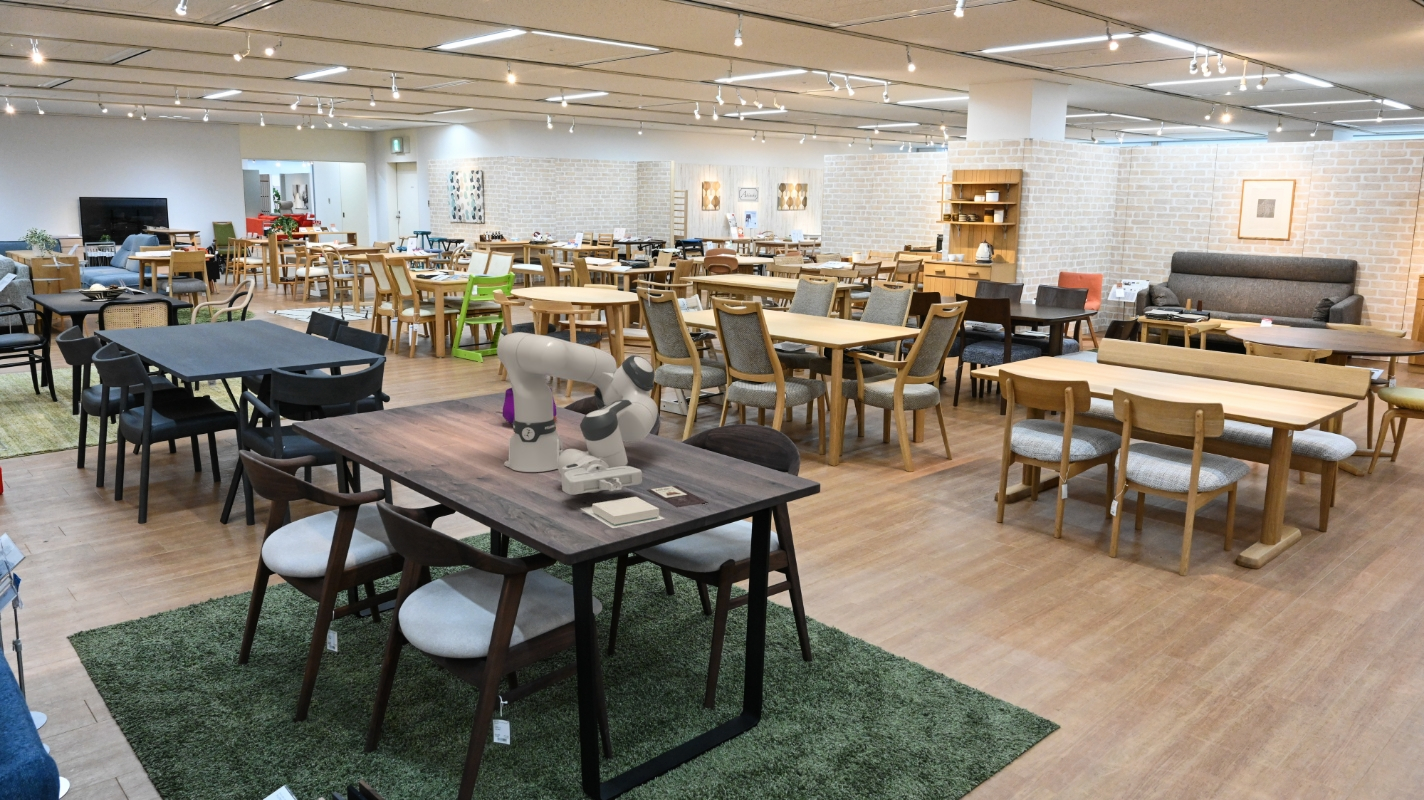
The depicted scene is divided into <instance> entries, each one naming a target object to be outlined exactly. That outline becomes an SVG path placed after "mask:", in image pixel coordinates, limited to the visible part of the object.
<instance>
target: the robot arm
mask: <svg viewBox="0 0 1424 800" xmlns="http://www.w3.org/2000/svg"><path fill="white" fill-rule="evenodd" d="M496 354H497V357H498V360H499V361H500V362H501V363H502V365H503V366H504V368H505V370H506V372H507V376H508V379H509V382H510V386H511V388H512V390H513V395H514V410H515V419H514V421H513V423H512V427H513V432H514V433H513V435H512V436H510V437H509V440H508V441H509V442H508V460H506V461H504V465H503V466H505V467H507V468H510V469H511V470H513V471H517V472H524V473H537V472H538V473H541V472H549V471H553V470H558V472H559V474H560V475H561V477H560V478H561V479H560V480H561V481H560V482H561V489H562V492H564V493H566V494H568V495H574V496H575V495H579V494H580V495H581V494H587V493H594V494H595V493H598V492H601V491H609V492H612V491H613V492H614V491H619V490H623V488H624V487H630V486H636V485H640V484H641V483H642V481H643V472H642V470H641V469H640V468H636V467H634V466H630V465H628V463H629V460H628V456H627V451H626V449H625V445H624V442H625V443H637V442H640V441H643V439H645V438H646V437H647V436H648V435H649V434H650V432H651V430H652V429H653V428H654V425H655V424H656V421H657V418H658V412H659V408H658V406H657V403H656V401H655V400H654V399H653V398H651V396H650V394H649V393H650V391H651V390H654V388H655V384H654V380H655V376H656V373H655V369H654V367H653V365H652V363H650V361H648V360H647V359H646V358H644V357H643V356H641V355H636V354H635V355H630V356H629V357H627V358H626V359H624V360H623V362H622V363H621V365H620V366H619V367H617V366H618V365H617V361H616V358H615V357H614V356H613V355H612V354H610V353H609V352H606V351H605V350H602V349H600V348H597V347H594V346H591V345H586V344H583V343H582V344H581V343H576V342H572V341H568V340H566V339H565V340H564V339H560V338H556V337H553V336H549V335H542V334H536V333H530V332H521V331H520V332H519V331H518V332H512V333H508V334H505V335H503V336H502V337H501V339H500V340H499V341H498V343H497V347H496ZM544 376H548V377H553V378H559V379H564V380H568V381H569V380H570V381H576V382H581V383H588V384H592V385H594V386H596V388H595V389H594V391H593V392H594V393H593V395H594V396H595V402H596V406H597V410H594V411H591V412H589V413H587V414H585V415H584V417H583V418H582V420H581V422H580V424H579V426H580V427H579V428H580V430H581V434H582V436H583V437H584V442H585V444H586V448H587V450H586V451H583V450H580V449H577V448H567V449H564V446H563V445H564V444H563V443H564V442H563V438H562V437H561V435H559V433H558V432H557V431H556V430H557V421H558V420H557V415H556V416H554V417H553V398H554V394H552V393H553V390H552V391H551V389H552V388H551V387H549V385H548V384H547V382H546V379H545V377H544ZM550 388H551V389H550ZM623 441H624V442H623Z"/></svg>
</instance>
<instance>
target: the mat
mask: <svg viewBox="0 0 1424 800" xmlns="http://www.w3.org/2000/svg"><path fill="white" fill-rule="evenodd" d="M579 510H581V511H583V512H585V513H586V514H587V515H589V516H591V517H593V518H595V519H596V520H598V521H599V522H601V523H603V524H605V525H606V526H608V527H609V528H612V529H616V528H623V527H628V526H634V525H638V524H639V525H640V524H644V523H649V522H650V523H651V522H656V521H661V520H665V519H666V518H665V517H663V516H661V515H659V517H657V518H654V519H649V520H643V521H637V522H632V523H626V524H621V525H613V524H612V523H610V522H608V521H607V520H605V519H603V518H602V517H600V516H598V515H597V514H595V513H594V512H593V511H592V506H585V507H579Z"/></svg>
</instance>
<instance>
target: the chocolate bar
mask: <svg viewBox="0 0 1424 800" xmlns="http://www.w3.org/2000/svg"><path fill="white" fill-rule="evenodd" d="M646 491H647V492H649V493H650V494H653V495H654V496H656V497H657V498H659V499H661V500H663V501H665V502H667V503H668V504H670V505H672V506H674V507H675V508H682V507H688V506H694V505H695V506H696V505H703V504H705V503H708V504H709V501H707V500H704V499H703V498H701V497H698V496H697V495H695V494H693V493H692V492H689V491H687V490H686V489H683V488H681V487H680V486H678V485H673V486H664V487H659V488H658V487H657V488H651V489H650V488H649V489H646Z"/></svg>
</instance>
